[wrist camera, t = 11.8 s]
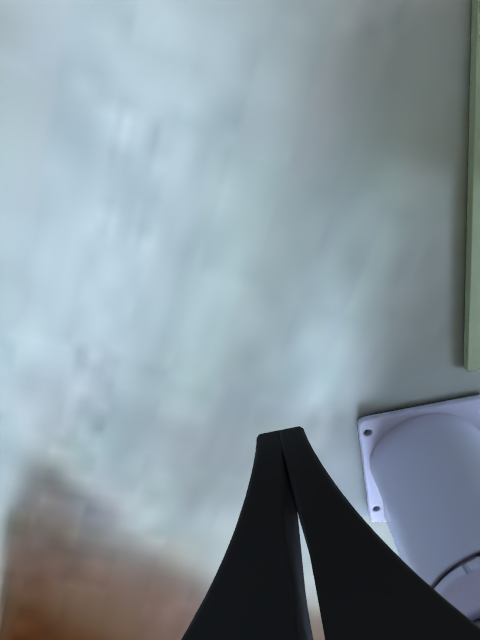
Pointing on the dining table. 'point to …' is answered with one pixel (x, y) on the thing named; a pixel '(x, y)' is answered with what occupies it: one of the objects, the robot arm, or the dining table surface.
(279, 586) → the robot arm
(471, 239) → the mat
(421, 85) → the dining table surface
